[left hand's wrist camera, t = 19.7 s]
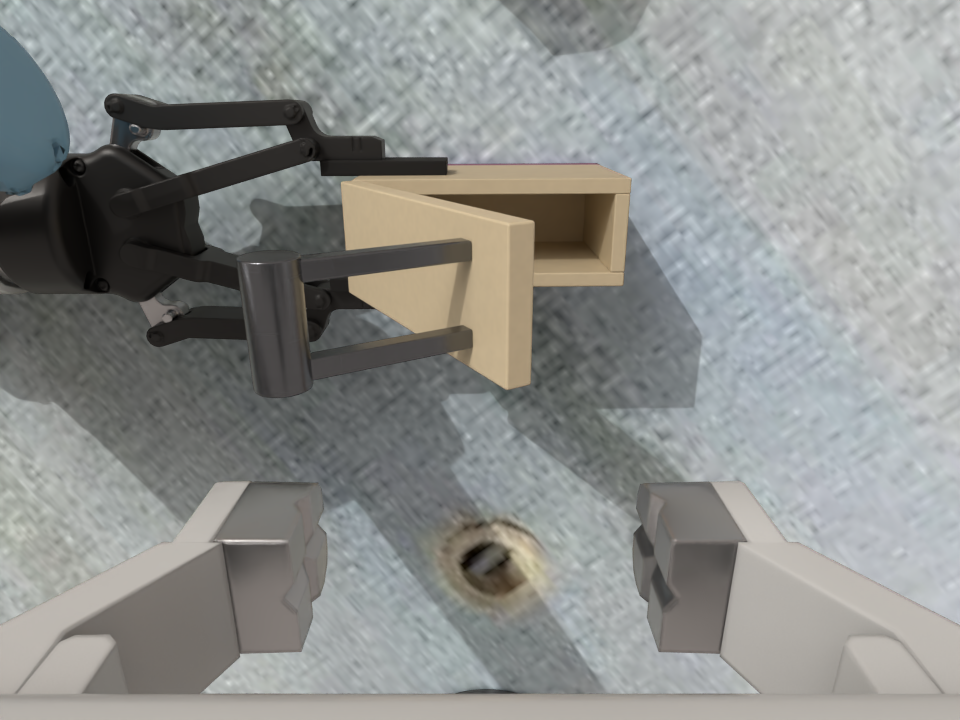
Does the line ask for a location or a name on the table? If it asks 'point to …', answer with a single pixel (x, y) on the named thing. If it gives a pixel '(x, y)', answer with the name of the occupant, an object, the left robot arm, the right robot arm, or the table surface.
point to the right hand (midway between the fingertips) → (447, 224)
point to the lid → (399, 291)
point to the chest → (545, 212)
